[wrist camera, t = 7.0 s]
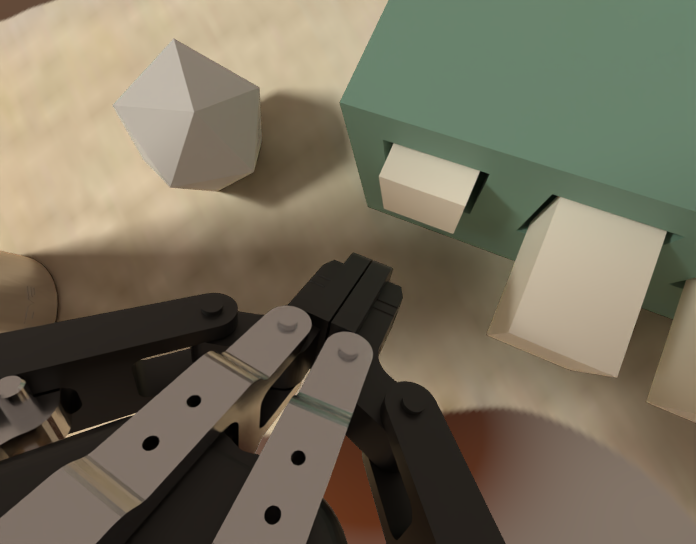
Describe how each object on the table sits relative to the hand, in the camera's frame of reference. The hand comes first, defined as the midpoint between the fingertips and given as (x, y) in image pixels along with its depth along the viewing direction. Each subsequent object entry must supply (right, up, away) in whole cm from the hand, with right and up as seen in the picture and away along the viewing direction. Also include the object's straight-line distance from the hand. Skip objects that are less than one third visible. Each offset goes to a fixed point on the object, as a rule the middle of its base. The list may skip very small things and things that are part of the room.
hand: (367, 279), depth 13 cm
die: (-10, +9, +14) cm, 20 cm away
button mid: (+9, -1, +4) cm, 10 cm away
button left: (+4, +6, +6) cm, 9 cm away
